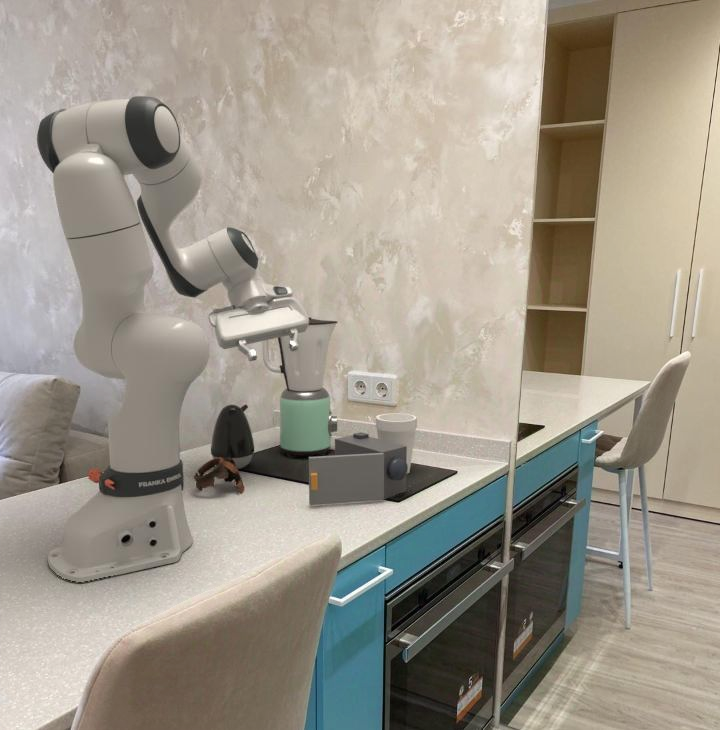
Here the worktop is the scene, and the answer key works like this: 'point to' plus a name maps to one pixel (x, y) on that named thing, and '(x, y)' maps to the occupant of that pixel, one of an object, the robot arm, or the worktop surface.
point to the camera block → (392, 458)
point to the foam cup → (398, 431)
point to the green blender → (305, 391)
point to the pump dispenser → (233, 436)
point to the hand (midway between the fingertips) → (274, 354)
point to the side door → (346, 478)
